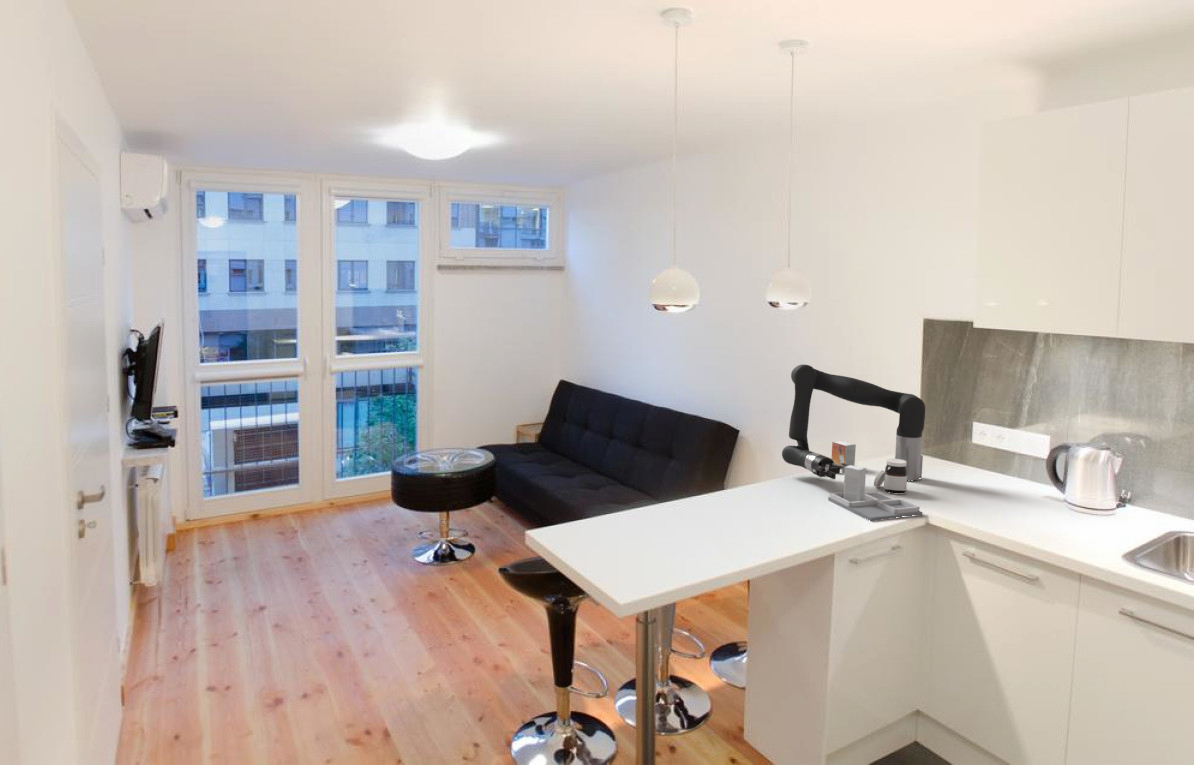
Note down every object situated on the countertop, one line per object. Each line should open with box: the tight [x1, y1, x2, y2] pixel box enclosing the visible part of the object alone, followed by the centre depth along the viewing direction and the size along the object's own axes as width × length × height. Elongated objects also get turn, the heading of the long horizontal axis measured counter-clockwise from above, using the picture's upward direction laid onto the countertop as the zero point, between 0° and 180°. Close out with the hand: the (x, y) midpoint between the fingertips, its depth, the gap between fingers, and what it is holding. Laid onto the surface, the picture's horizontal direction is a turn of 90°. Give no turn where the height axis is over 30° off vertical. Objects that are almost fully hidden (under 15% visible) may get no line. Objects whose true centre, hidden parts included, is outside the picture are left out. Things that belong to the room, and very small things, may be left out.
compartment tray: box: [827, 491, 923, 522], centre depth 254 cm, size 20×24×3 cm
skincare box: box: [843, 465, 867, 502], centre depth 257 cm, size 6×4×12 cm
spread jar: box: [873, 458, 908, 494], centre depth 274 cm, size 12×11×12 cm
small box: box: [830, 440, 856, 466], centre depth 307 cm, size 8×6×10 cm
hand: (845, 475), depth 262 cm, fingers open, 8 cm apart
